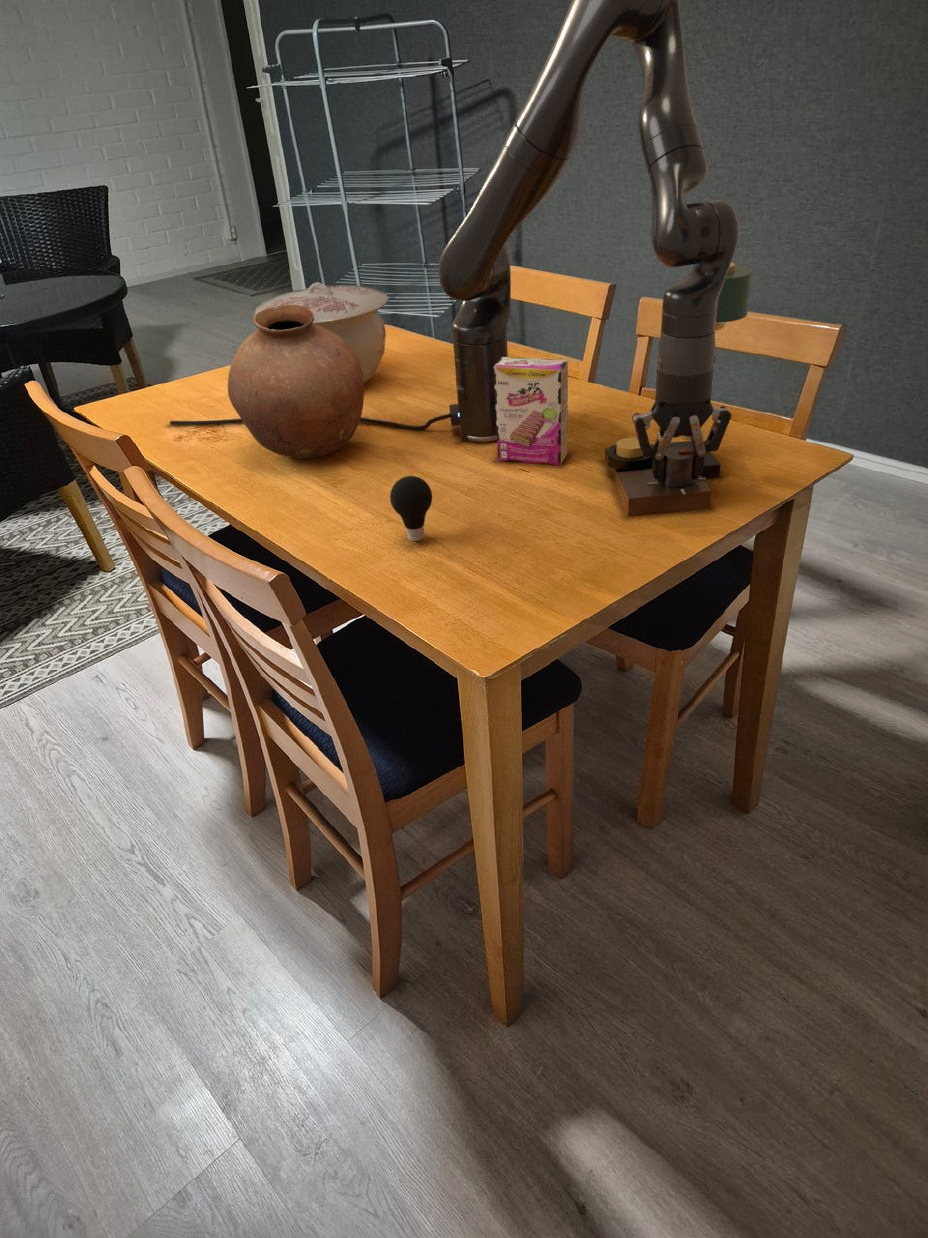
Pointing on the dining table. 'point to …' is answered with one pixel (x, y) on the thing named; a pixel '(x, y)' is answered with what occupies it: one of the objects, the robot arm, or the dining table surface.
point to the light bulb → (412, 504)
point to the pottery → (296, 384)
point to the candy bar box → (531, 410)
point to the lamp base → (645, 463)
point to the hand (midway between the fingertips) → (676, 478)
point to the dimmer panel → (659, 494)
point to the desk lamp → (732, 298)
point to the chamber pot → (345, 317)
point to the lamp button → (628, 448)
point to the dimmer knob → (678, 467)
